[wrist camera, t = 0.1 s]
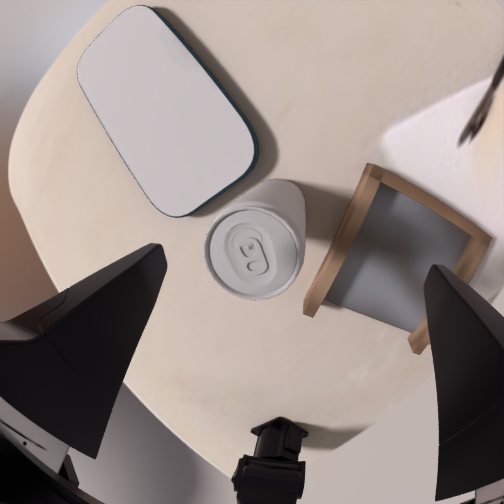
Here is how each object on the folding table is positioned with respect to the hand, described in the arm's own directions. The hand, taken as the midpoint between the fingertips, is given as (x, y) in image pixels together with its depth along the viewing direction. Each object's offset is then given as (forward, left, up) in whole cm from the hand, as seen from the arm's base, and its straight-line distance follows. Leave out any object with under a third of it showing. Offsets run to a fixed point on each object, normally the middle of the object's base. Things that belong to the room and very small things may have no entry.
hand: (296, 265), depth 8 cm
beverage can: (-2, +1, -16) cm, 16 cm away
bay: (+2, -11, -15) cm, 19 cm away
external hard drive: (-2, +17, -16) cm, 23 cm away
